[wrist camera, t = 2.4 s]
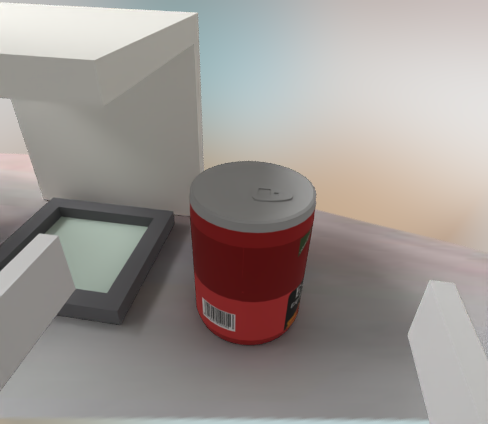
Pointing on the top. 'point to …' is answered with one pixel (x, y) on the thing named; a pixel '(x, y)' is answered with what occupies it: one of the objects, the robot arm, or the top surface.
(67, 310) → the grey picture frame
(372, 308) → the top surface
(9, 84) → the shelf
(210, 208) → the canned food
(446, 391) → the robot arm
